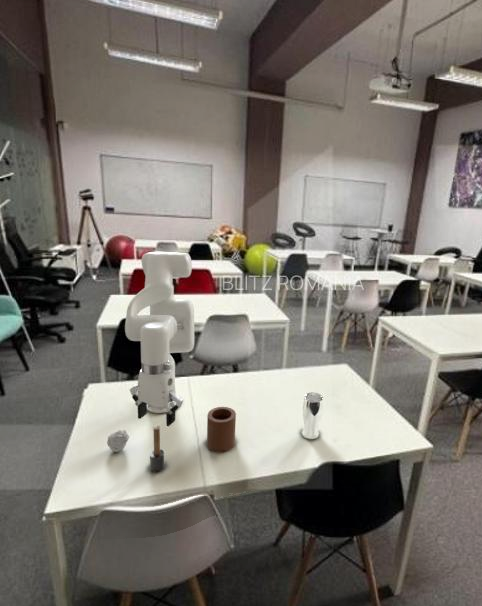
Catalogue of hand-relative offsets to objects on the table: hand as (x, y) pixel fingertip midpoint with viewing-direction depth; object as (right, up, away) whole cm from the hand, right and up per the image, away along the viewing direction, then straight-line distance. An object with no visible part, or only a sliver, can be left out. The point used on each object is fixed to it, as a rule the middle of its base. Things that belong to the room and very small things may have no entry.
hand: (156, 420), depth 111 cm
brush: (-1, -16, +4) cm, 17 cm away
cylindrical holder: (+16, -14, +18) cm, 27 cm away
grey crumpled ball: (-16, -14, +11) cm, 24 cm away
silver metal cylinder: (+46, -14, +26) cm, 55 cm away
